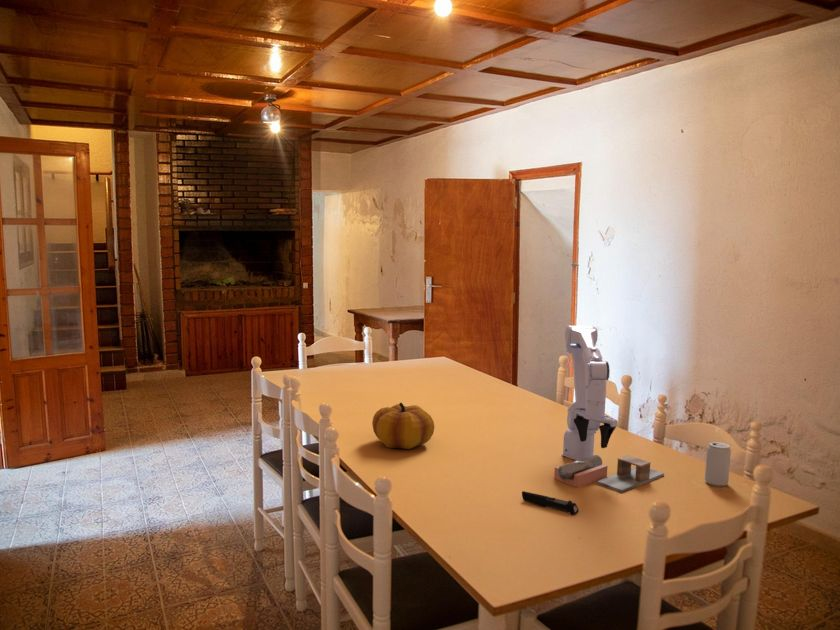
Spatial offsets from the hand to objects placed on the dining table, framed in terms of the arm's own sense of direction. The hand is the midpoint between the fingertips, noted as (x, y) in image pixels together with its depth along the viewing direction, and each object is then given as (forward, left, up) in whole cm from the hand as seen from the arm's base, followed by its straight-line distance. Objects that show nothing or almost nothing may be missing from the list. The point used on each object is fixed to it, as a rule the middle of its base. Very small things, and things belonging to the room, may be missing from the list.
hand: (593, 444), depth 197 cm
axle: (0, -6, -6) cm, 8 cm away
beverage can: (+27, +24, -10) cm, 37 cm away
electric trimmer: (+8, -29, -10) cm, 32 cm away
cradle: (0, -5, -9) cm, 11 cm away
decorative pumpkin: (-57, -29, -10) cm, 65 cm away
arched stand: (+10, +7, -9) cm, 15 cm away
